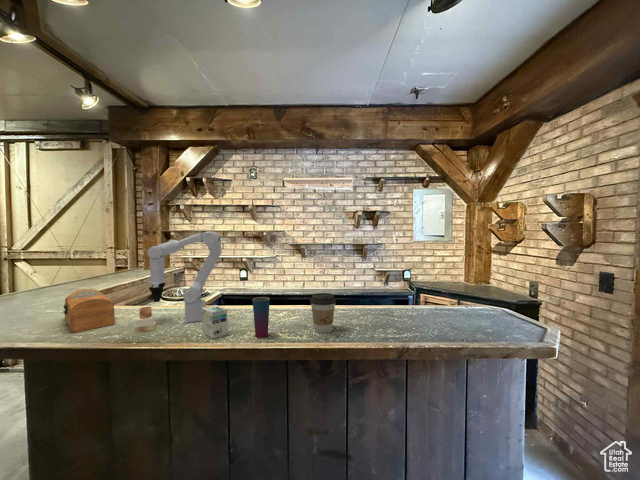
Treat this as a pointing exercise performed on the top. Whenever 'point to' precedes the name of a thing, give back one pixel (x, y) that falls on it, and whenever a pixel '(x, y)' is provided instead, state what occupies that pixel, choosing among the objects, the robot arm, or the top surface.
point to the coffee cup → (323, 311)
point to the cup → (261, 316)
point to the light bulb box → (214, 321)
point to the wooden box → (88, 310)
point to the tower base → (145, 328)
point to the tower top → (144, 321)
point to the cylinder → (145, 312)
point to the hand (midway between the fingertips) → (157, 300)
